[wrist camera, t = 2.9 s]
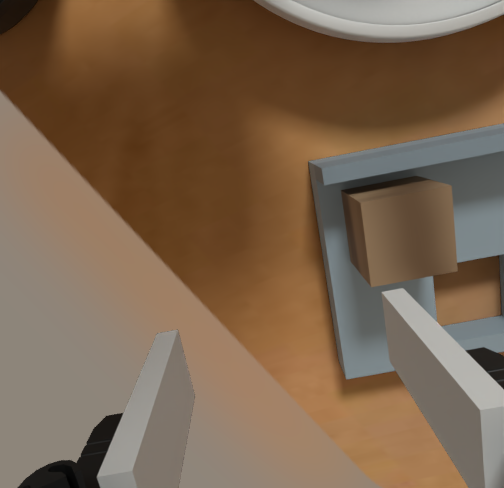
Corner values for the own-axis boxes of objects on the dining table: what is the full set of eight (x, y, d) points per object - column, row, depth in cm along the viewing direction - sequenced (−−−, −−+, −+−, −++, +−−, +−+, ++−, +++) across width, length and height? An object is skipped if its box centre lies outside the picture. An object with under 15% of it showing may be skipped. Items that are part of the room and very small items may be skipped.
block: (350, 261, 30) (371, 287, 25) (340, 190, 29) (360, 202, 24) (423, 248, 30) (457, 271, 25) (416, 175, 29) (451, 185, 24)
